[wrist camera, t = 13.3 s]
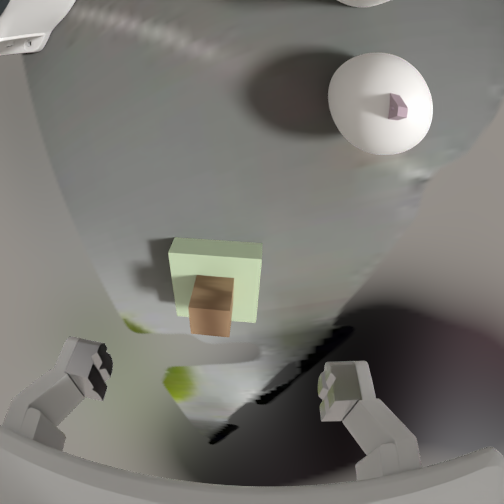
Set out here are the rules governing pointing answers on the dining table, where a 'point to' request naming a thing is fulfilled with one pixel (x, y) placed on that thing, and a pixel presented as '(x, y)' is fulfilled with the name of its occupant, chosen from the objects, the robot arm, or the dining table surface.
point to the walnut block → (211, 305)
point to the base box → (217, 272)
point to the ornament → (380, 103)
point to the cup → (362, 2)
